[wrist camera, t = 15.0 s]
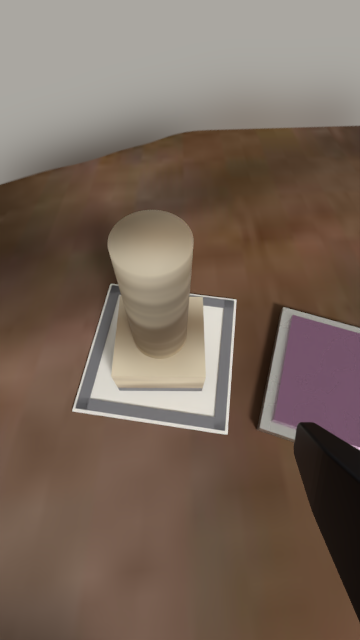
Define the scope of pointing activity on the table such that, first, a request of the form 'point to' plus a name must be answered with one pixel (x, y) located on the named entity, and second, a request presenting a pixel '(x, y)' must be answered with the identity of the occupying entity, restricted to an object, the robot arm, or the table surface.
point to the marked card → (163, 406)
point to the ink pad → (313, 378)
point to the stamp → (156, 305)
